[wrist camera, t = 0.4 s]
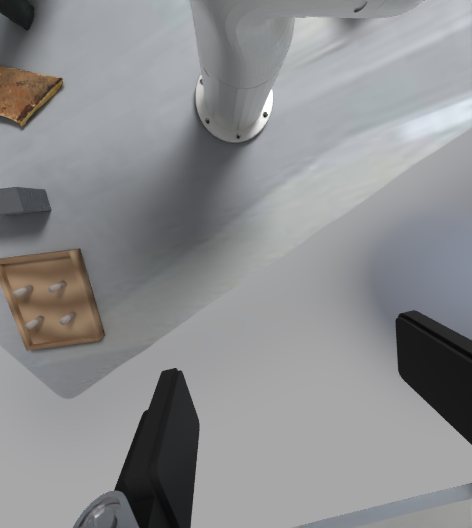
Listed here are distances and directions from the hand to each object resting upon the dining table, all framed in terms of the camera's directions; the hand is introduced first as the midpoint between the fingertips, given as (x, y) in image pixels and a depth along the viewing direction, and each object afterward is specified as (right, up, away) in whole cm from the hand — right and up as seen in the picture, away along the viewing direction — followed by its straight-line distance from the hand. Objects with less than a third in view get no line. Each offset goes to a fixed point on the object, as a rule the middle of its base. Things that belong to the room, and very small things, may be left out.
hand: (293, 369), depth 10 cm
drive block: (-39, +15, +30) cm, 52 cm away
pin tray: (-37, -2, +35) cm, 51 cm away
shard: (-36, +32, +27) cm, 55 cm away
